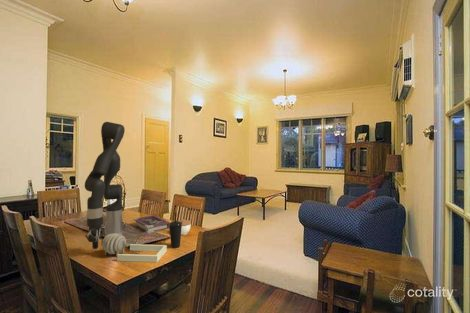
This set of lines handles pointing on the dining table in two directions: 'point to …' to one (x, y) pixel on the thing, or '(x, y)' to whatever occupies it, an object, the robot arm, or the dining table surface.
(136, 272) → the dining table surface
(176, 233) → the drinking cup
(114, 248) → the grey ridged rounded piece
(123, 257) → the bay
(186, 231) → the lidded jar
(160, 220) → the book
